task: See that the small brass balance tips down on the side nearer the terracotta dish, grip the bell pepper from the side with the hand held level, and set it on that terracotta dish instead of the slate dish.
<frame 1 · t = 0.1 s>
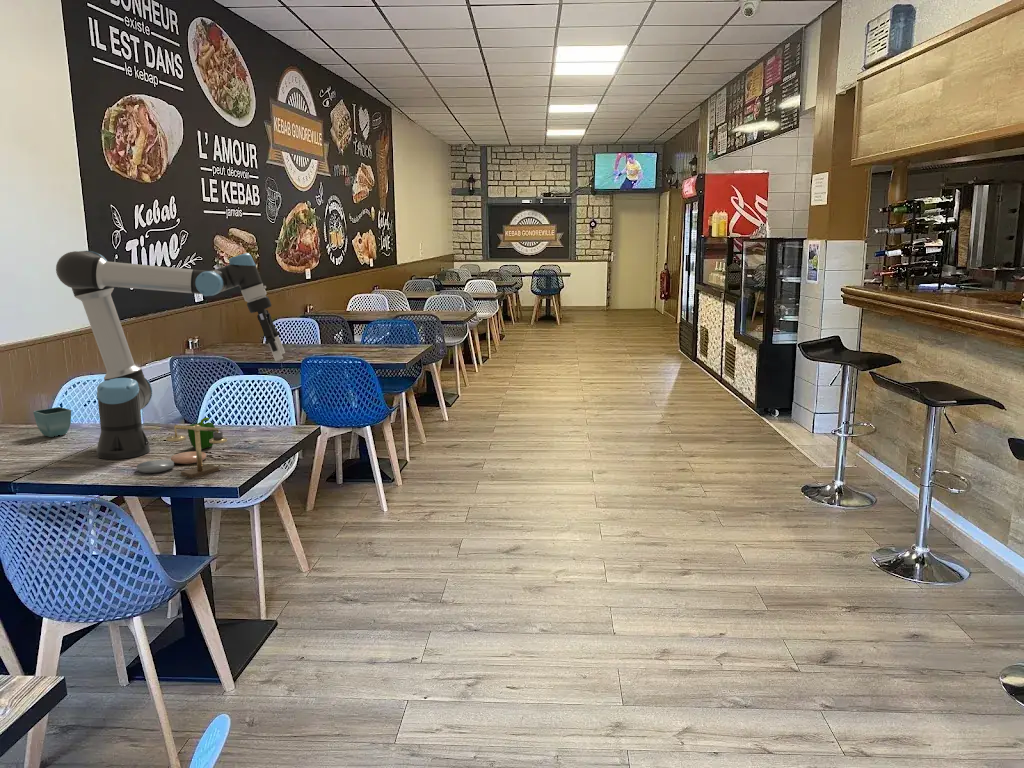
hand: (280, 357, 257), 28 cm above the table, tool tilted 20°, fingers open, 13 cm apart
slate dish: (155, 469, 221), on the table
bell pepper: (202, 448, 246), on the table
flower pot: (55, 435, 260), on the table
terracotta dish: (189, 460, 230), on the table
brass balance: (200, 473, 218), on the table
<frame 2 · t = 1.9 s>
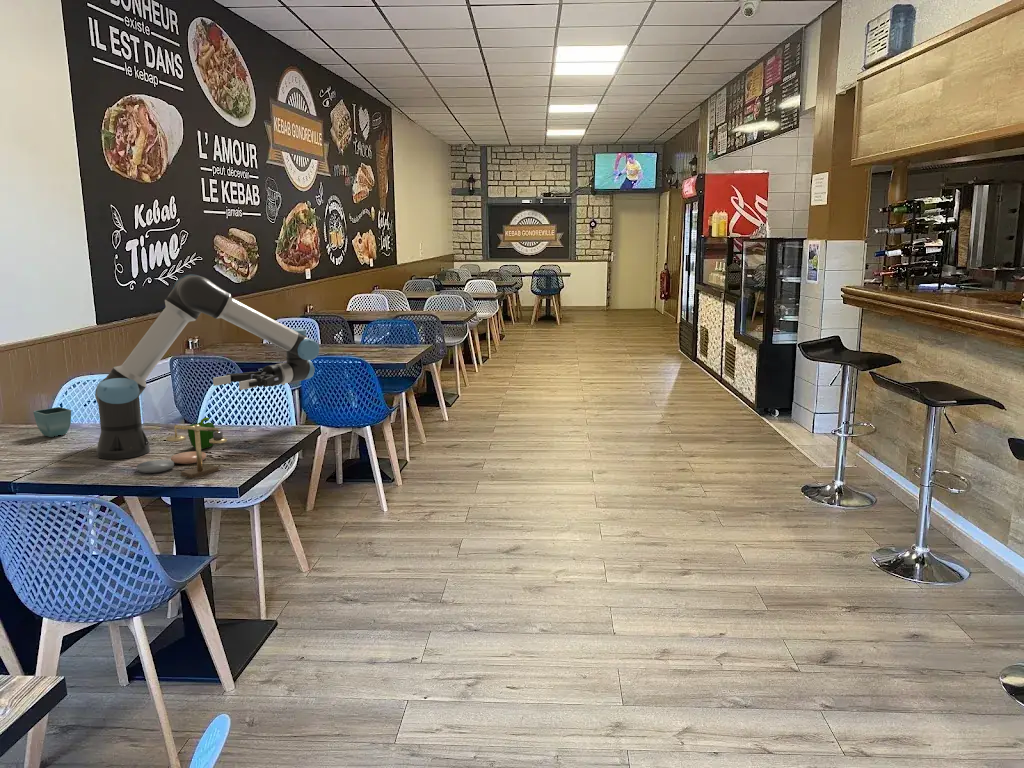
hand: (226, 383, 251), 20 cm above the table, tool horizontal, fingers open, 13 cm apart
nothing on the table moved.
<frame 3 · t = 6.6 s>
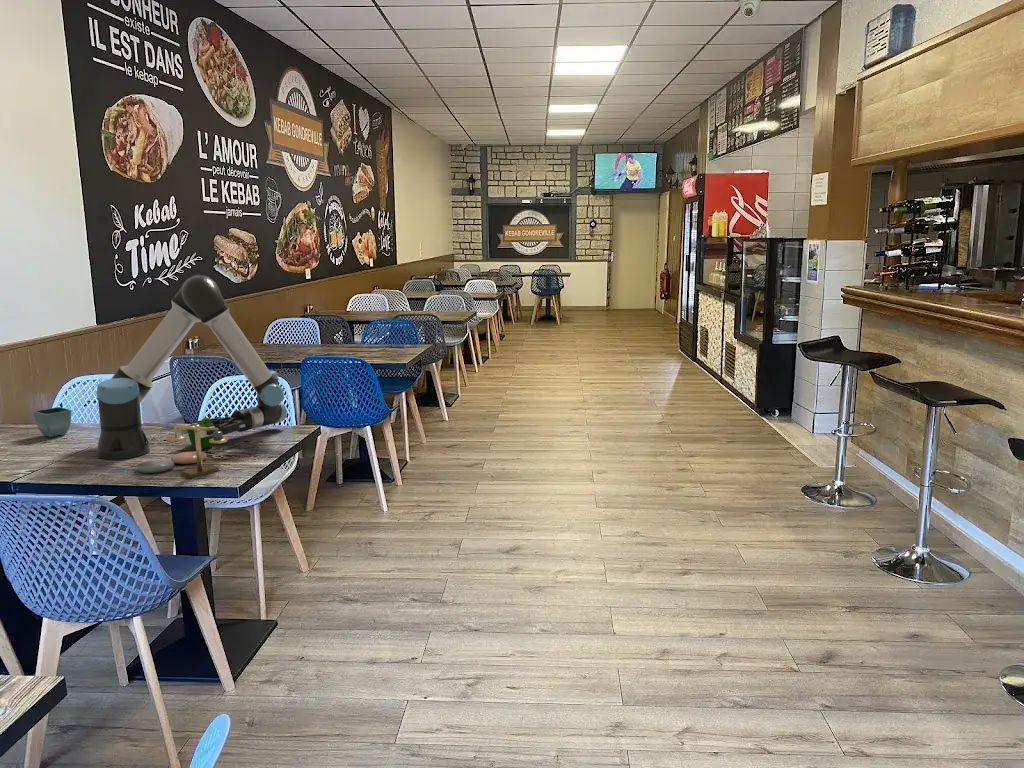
hand: (188, 432, 240), 6 cm above the table, tool horizontal, fingers closed on bell pepper, 8 cm apart
bell pepper: (202, 448, 245), on the table, touching gripper
everything else where it was.
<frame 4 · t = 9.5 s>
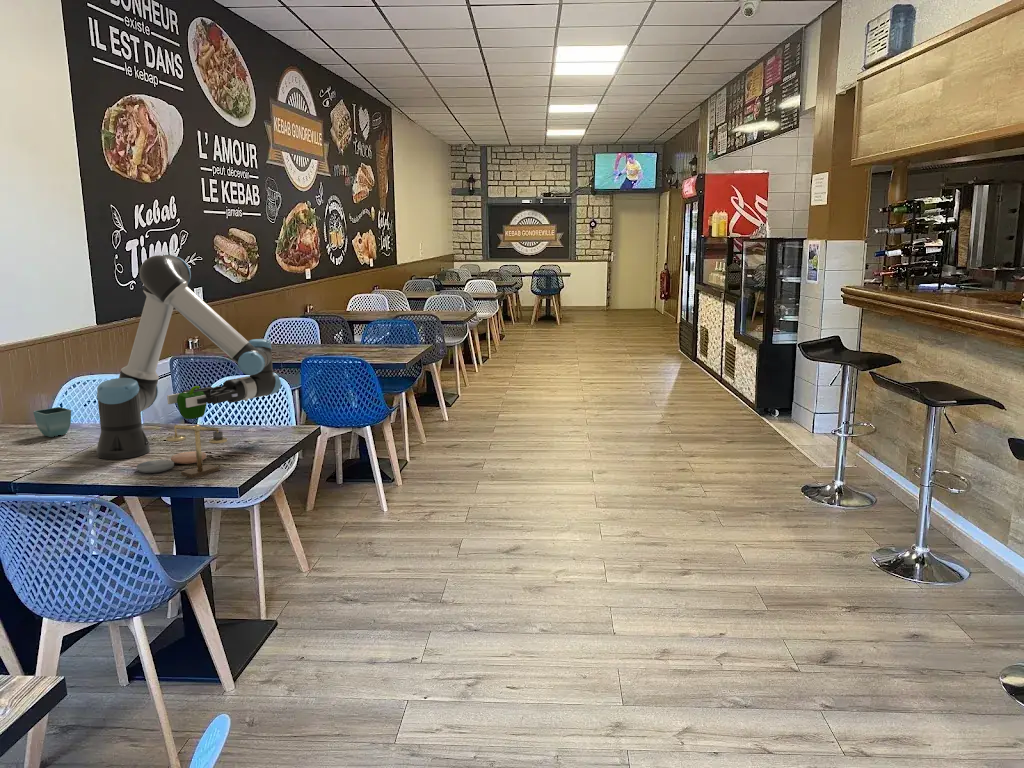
hand: (177, 401, 226), 19 cm above the table, tool horizontal, fingers closed on bell pepper, 8 cm apart
bell pepper: (192, 418, 232), point 13 cm above the table, touching gripper
everything else where it was.
when the fingers open (9 cm above the table, at t = 12.8 s): bell pepper drops 1 cm, resting on terracotta dish.
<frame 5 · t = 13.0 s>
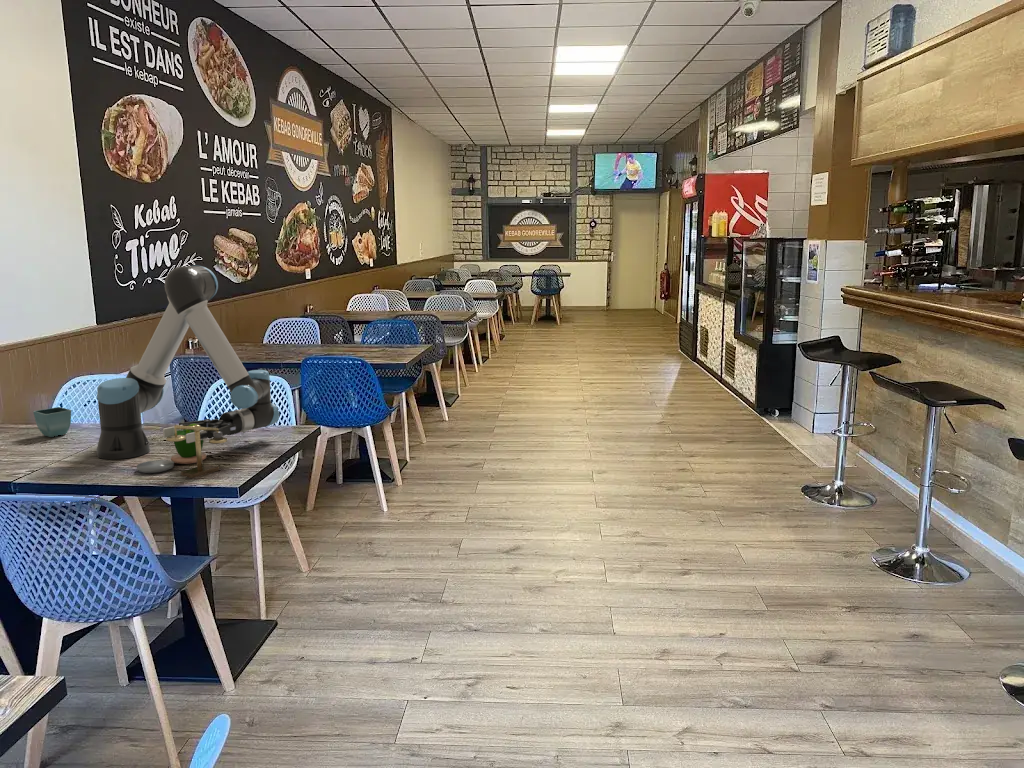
hand: (175, 435, 225), 9 cm above the table, tool horizontal, fingers open, 11 cm apart
bell pepper: (189, 456, 230), point 1 cm above the table, touching terracotta dish
everything else where it was.
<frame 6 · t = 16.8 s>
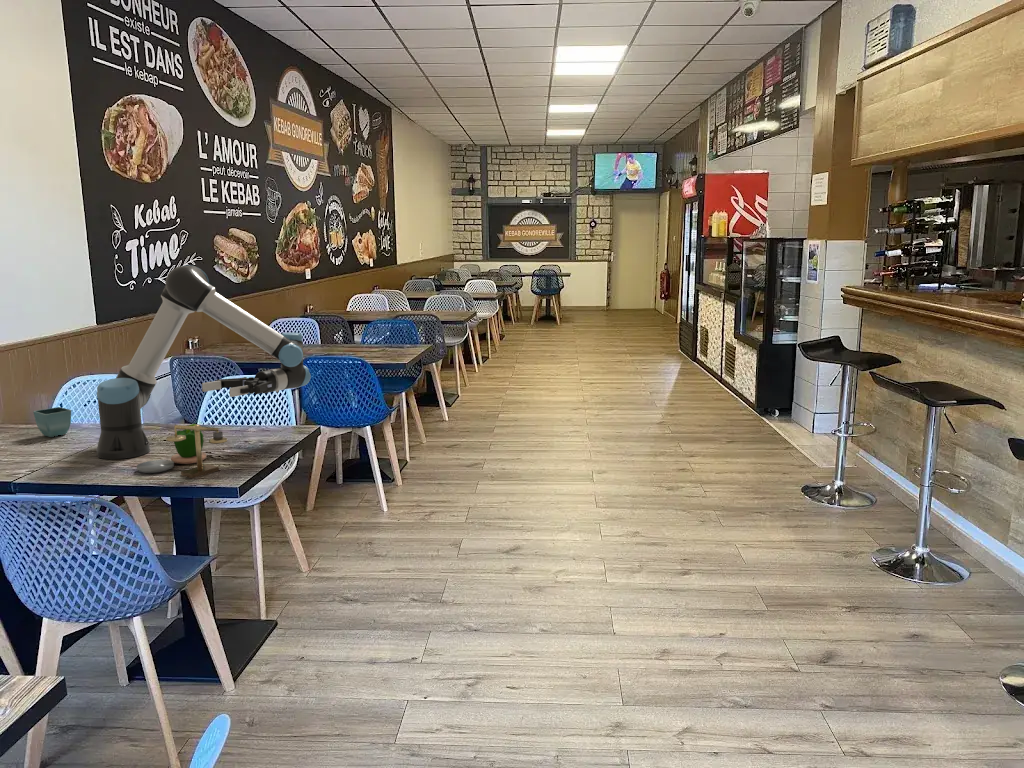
hand: (216, 390, 236), 21 cm above the table, tool horizontal, fingers open, 13 cm apart
nothing on the table moved.
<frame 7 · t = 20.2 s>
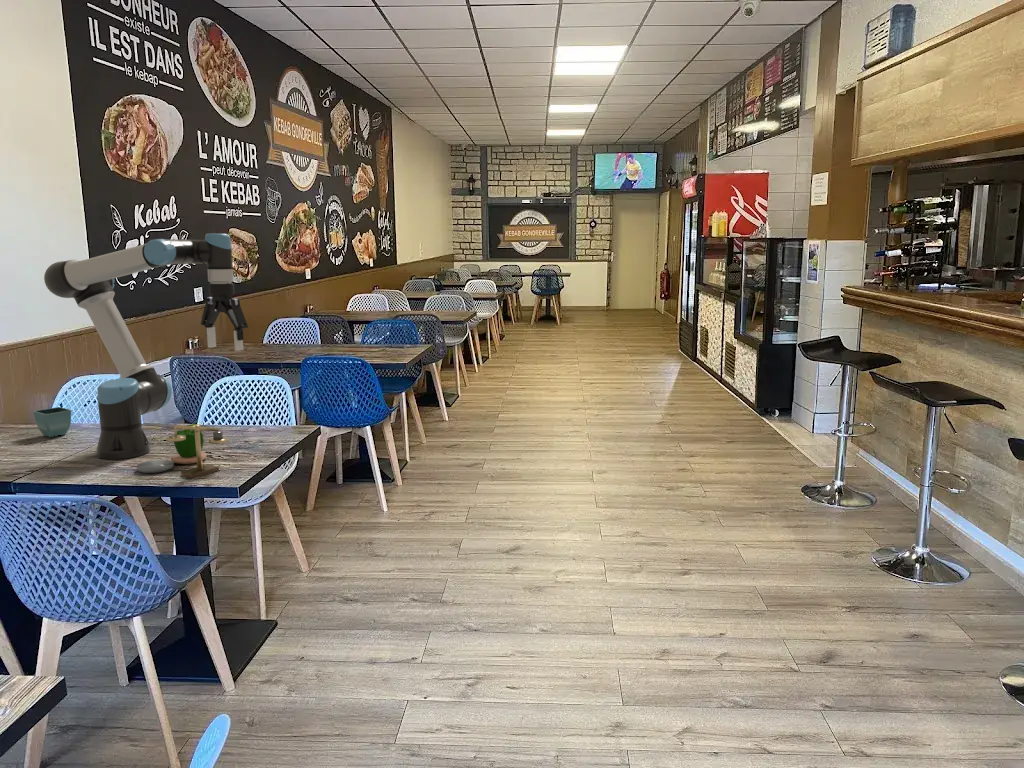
hand: (225, 348, 241), 33 cm above the table, tool pointing down, fingers open, 13 cm apart
nothing on the table moved.
at the end: bell pepper inside the target area on the terracotta dish (0.5 cm from its centre), point 1.4 cm above the terracotta dish's base; the gripper is holding nothing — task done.
